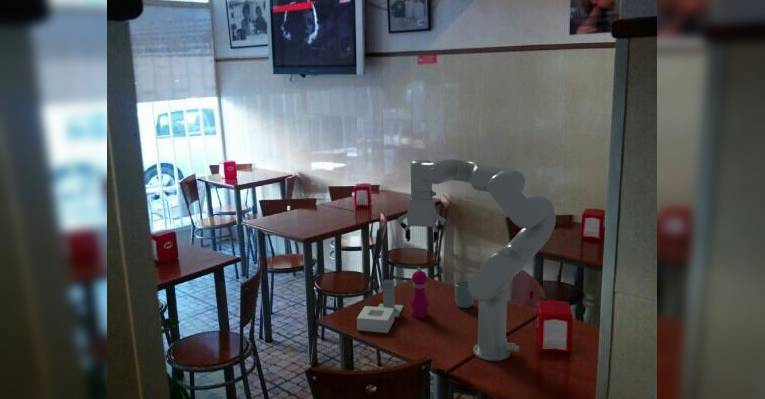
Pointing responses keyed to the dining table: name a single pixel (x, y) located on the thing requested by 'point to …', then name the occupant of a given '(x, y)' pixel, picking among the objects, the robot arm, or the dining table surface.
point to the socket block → (375, 319)
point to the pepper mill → (419, 294)
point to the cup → (463, 294)
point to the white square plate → (395, 309)
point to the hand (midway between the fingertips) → (421, 241)
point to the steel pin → (388, 294)
